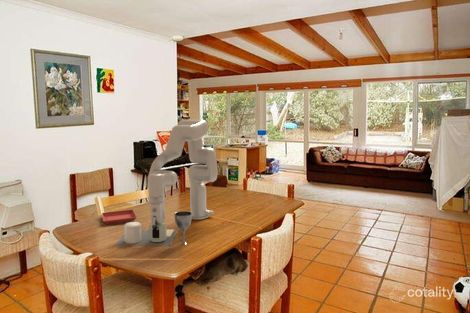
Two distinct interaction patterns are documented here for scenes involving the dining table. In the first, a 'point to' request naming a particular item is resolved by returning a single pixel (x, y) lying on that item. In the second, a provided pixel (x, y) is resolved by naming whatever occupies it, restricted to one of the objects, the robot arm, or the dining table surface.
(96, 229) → the dining table surface
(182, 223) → the wine glass
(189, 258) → the dining table surface
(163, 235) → the sage cup
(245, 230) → the dining table surface
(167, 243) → the mat
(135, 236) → the white cup
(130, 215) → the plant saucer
